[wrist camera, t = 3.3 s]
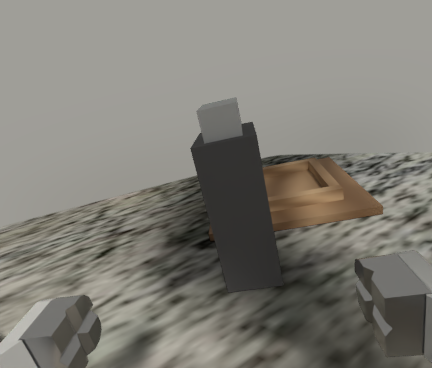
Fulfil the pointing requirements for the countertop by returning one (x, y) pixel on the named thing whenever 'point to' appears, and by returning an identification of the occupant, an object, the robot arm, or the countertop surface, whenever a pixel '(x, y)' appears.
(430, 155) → the countertop surface
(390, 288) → the robot arm
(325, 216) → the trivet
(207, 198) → the capped dark pillar
